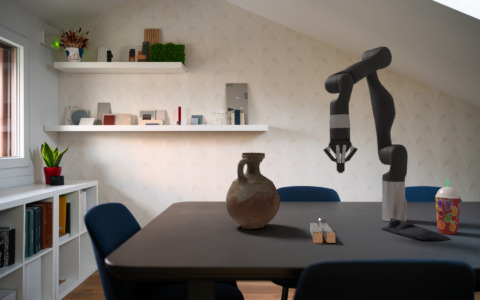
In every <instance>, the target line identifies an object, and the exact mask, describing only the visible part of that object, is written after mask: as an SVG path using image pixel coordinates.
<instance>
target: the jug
mask: <svg viewBox="0 0 480 300" xmlns="http://www.w3.org/2000/svg"><path fill="white" fill-rule="evenodd" d="M241 158H242V159H240V160H239V161H238V163H237V169H236V174H237V178H236V179H234V180H232V182H231V184H230V185H229V188H228V190H227V193H226V196H225V197H226V198H225V207H226V211H227V213H228V215H229V216H230V217H231V219H232V220H233V221H234V222H235V223H237V224H238V225H240V228H241V229H245V230H250V229H253V230H254V229H260V228H264V227H265V226H266V225H268V224H270V222H271V221H273V220H274V219H275V217H276V216H277V214H278V212H279V210H280V207H281V206H280V205H281V198H280V195H279V192H278V189H277V187H276V186H275V184H274V182H273V181H272V180H271V179H269V178H268V177H267V176H265V175H264V174H262V173H261V170H260V165H261V163H263V160H264V159H265V158H266V153H265V152H253V151H251V152H242V153H241ZM245 165H246V171H245V172H244V169H245Z"/></svg>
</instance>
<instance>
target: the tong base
mask: <svg viewBox="0 0 480 300" xmlns="http://www.w3.org/2000/svg"><path fill="white" fill-rule="evenodd" d="M319 222H325V223H327V218H326V217H317V222H310V223H309V226H310V227H309V232H310V235H311V237H312V242H313V244H323V235H322V232H321V231H320V229H319Z"/></svg>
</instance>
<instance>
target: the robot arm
mask: <svg viewBox="0 0 480 300" xmlns="http://www.w3.org/2000/svg"><path fill="white" fill-rule="evenodd" d="M392 61H393V54H392V52H391V50H390V49H389V48H388V47H387V46H378V47H375V48H372V49H368V50H365V51H364V52H362V55H361V60H360V61H358V62H355V63H353V64H351V65H350V66H347V67H346V68H344V69H343V70H340V71H337V72H335V73H333V74H331V75H329V76H328V77H326V79H325V81H324V89H325V91H326V92H327V93H329V94H332V95H334V94H335V95H336V94H338V96H337V97H336V98H335V99H332V100H331V101H330V103H329V143H328V146H326V147H325V148H323V152H324V153H325V155H326V156H327V157H328V158H329V160H330V161H332V162H334V163H336V165H335V166H336V172H338V174H343V173H344V172H345V171H346V169H345V168H346V166H345V165H346V163H347V162H349V161H351V159H352V158H353V156H354V155H355V154H356V152H358V148H357V147H355V146H353V143H352V141H351V123H350V122H351V120H350V102H351V96H352V93H353V90H354V89H353V88H354V86H355V85H356V84H357V83H359V81H362V80H363V79H365V80H366V82H367V87H368V93H369V97H370V103H371V110H372V115H373V120H374V127H375V133H376V135H375V136H376V146H377V155H378V160H379V162H380V163H381V164H382V165H384V166H389V169H388V171H387V172H385V173H383V174H382V177H381V180H382V181H381V186H382V187H381V191H382V192H381V193H382V195H381V197H382V199H381V202H382V203H381V205H382V206H381V208H382V209H381V210H382V211H381V213H382V214H381V218H382V219H381V220H382V221H385V222H388V223H390V219H391V218H395V219H398V220H401V221H404V222H407V223H408V220H407V209H408V208H407V205H408V204H407V201H408V200H407V199H406V176H407V174H408V173H407V172H408V161H409V160H408V159H409V157H408V150H407V147H406V146H404V145H402V144H399V143H397V144H396V143H393V142H392V136H391V133H392V132H391V131H392V128H393V127H392V126H393V125H394V122H395V119H396V115H397V114H396V113H397V112H396V105H395V99H394V97H393V95H392V94H391V92H390V91H389V90H388V89H386V87H385V86H384V85H383V84H382V82H381V81H380V79H379V75H378V72H377V71H379V70H383V69H386V68H387V67H389V66H390V65H391V63H392ZM331 151H332V152H333V154H334V156H335V157H334V156H333V154H332V153H331ZM348 151H350V152H349V153H348ZM347 153H348V155H347V156H346V154H347Z"/></svg>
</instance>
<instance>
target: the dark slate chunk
mask: <svg viewBox="0 0 480 300" xmlns="http://www.w3.org/2000/svg"><path fill="white" fill-rule="evenodd" d="M381 230H382V231H386V232H389V233H391V234H394V235H400V236H402V237H405V238H410V239H413V240H417V241H449V240H451V238H450V237H449V236H447V235H446V234H443V233H440V232H436V231H434V230H430V229H427V228H425V227H422V226H418V225H416V224H413V223H409V222H408V221H407V222H404V221H401V220H398V219H395V218H391V219H390V222H388V226H384V227H381Z"/></svg>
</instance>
